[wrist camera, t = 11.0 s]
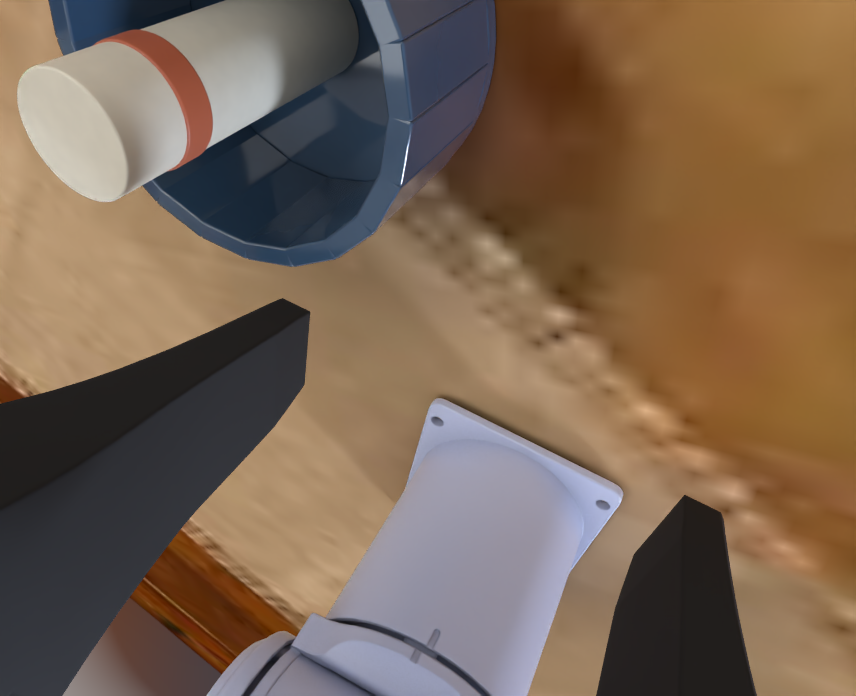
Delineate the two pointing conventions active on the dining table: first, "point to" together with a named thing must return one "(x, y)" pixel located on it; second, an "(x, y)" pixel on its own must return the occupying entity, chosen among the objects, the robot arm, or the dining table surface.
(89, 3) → the holder
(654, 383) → the dining table surface
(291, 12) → the dowel
